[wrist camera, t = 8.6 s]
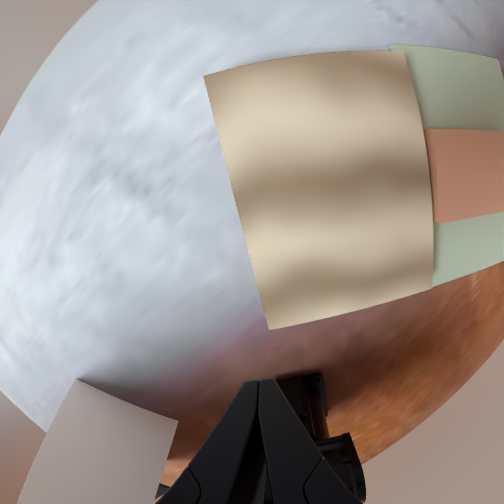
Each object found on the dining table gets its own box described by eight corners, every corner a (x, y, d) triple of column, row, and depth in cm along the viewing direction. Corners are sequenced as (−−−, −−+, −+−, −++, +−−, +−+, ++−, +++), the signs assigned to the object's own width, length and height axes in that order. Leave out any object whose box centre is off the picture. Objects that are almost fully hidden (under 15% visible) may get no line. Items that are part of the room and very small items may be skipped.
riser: (419, 276, 19) (432, 288, 17) (268, 314, 20) (268, 330, 19) (390, 58, 14) (403, 51, 12) (209, 83, 15) (203, 76, 13)
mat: (512, 254, 18) (514, 256, 18) (421, 287, 20) (423, 289, 19) (495, 59, 12) (498, 59, 12) (388, 45, 14) (390, 44, 13)
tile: (501, 203, 17) (517, 208, 15) (423, 216, 17) (438, 224, 15) (498, 131, 14) (514, 132, 13) (416, 129, 15) (432, 128, 13)
